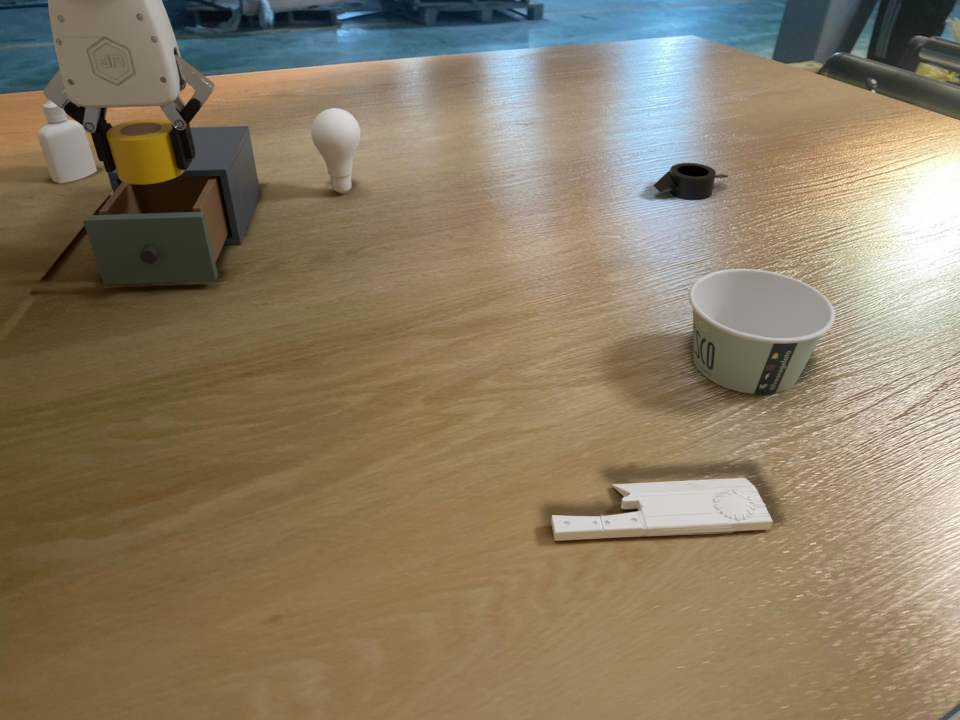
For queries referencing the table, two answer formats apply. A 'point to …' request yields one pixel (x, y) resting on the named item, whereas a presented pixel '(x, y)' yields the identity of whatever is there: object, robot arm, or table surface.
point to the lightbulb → (337, 144)
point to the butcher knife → (673, 511)
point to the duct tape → (688, 181)
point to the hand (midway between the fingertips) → (150, 164)
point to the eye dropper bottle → (65, 146)
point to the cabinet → (224, 172)
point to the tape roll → (143, 151)
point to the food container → (756, 328)
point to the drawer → (160, 232)
